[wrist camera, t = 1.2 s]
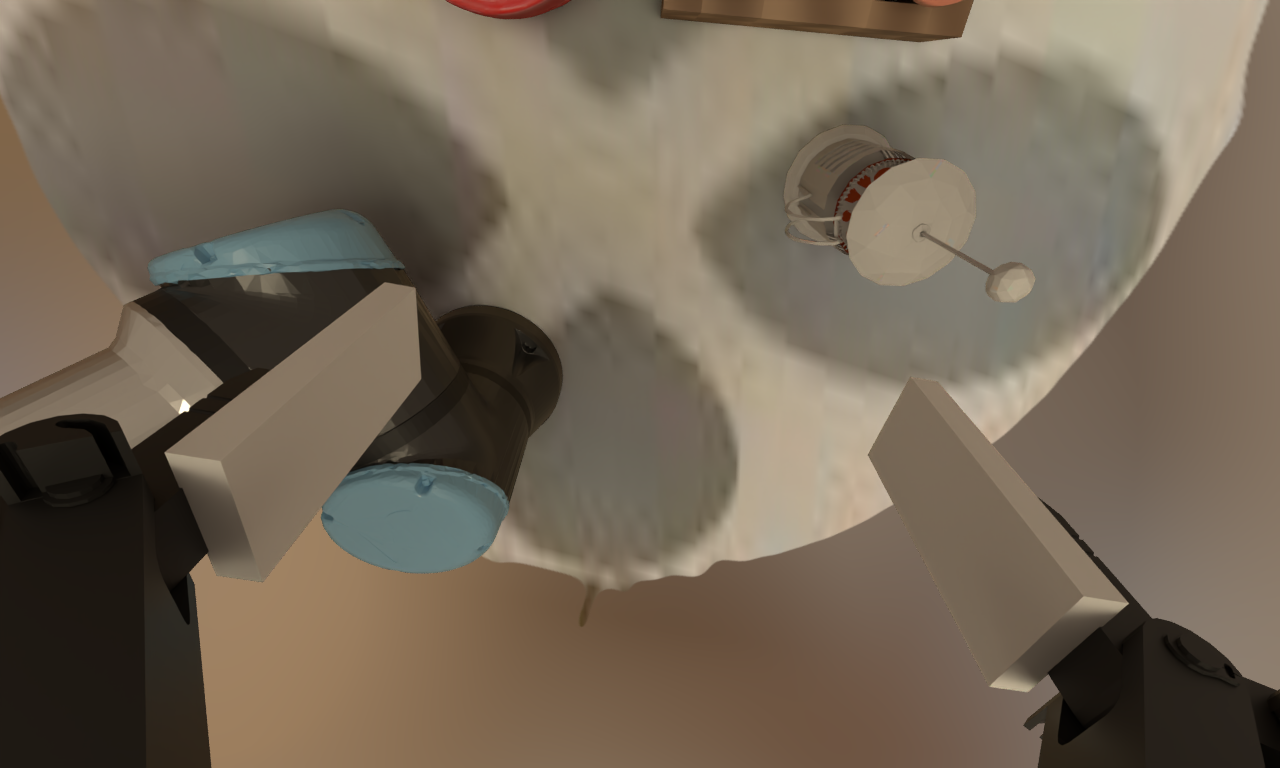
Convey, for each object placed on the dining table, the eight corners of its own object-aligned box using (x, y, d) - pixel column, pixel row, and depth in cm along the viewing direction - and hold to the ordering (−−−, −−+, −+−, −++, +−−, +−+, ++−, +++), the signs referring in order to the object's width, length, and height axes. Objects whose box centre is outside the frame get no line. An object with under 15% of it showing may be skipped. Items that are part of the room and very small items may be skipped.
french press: (892, 233, 47) (1102, 367, 25) (764, 253, 48) (863, 398, 26) (903, 113, 42) (1178, 155, 20) (760, 138, 43) (879, 203, 21)
